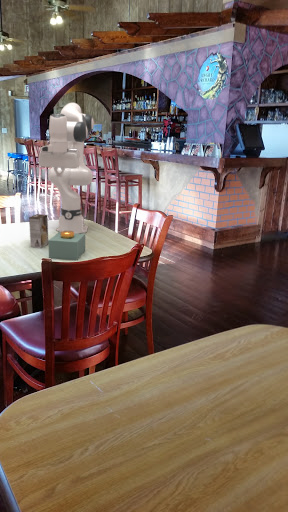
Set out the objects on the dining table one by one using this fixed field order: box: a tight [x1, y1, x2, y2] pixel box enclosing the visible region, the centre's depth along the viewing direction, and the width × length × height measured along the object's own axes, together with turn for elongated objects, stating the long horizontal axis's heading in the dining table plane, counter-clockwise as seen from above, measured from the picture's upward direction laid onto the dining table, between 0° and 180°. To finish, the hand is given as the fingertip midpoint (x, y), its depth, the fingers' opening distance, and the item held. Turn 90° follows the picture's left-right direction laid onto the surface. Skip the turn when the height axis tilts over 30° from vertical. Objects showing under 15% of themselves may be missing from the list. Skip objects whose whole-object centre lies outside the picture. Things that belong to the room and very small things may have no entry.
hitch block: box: [48, 231, 86, 261], centre depth 209 cm, size 16×14×9 cm
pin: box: [61, 231, 74, 239], centre depth 208 cm, size 7×7×10 cm
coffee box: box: [28, 213, 49, 249], centre depth 221 cm, size 9×6×16 cm
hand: (59, 176), depth 210 cm, fingers closed
